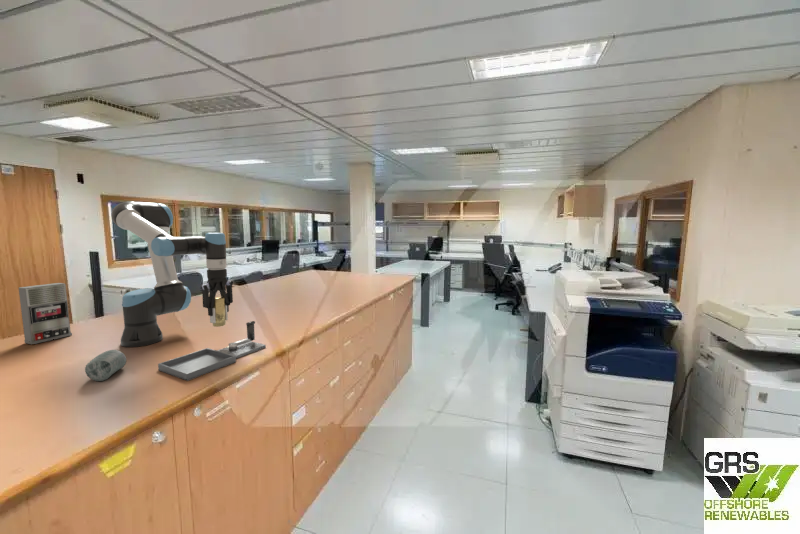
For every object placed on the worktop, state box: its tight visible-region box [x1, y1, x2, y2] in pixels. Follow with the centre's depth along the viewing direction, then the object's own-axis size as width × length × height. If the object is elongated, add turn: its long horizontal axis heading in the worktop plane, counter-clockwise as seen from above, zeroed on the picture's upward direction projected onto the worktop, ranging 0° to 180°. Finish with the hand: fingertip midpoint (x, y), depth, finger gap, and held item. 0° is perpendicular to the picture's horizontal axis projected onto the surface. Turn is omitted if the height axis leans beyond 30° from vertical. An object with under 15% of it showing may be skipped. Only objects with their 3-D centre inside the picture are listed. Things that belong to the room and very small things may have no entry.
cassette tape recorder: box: [18, 282, 73, 345], centre depth 152 cm, size 14×6×25 cm, turn 160°
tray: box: [157, 347, 237, 382], centre depth 126 cm, size 18×19×2 cm
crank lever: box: [228, 320, 256, 350], centre depth 145 cm, size 13×3×9 cm, turn 153°
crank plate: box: [217, 341, 267, 360], centre depth 142 cm, size 12×16×1 cm
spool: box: [84, 349, 127, 382], centre depth 118 cm, size 14×10×10 cm
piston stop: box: [212, 296, 227, 328], centre depth 147 cm, size 5×5×12 cm
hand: (219, 321), depth 147 cm, fingers closed on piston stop, 5 cm apart
